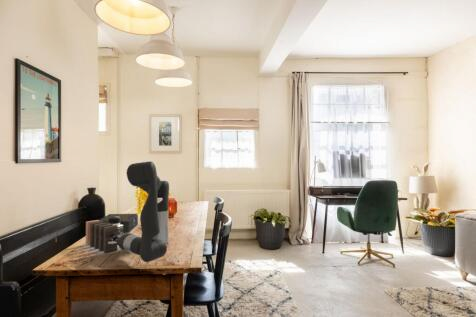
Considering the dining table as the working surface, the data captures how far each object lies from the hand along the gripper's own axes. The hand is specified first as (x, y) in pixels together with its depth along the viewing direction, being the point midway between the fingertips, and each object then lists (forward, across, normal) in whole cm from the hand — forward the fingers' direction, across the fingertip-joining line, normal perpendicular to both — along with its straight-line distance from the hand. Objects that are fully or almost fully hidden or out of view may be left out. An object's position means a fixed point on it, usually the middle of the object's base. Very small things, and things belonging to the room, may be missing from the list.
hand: (111, 236), depth 143 cm
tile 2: (+6, 0, +7) cm, 10 cm away
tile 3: (+11, 0, +7) cm, 13 cm away
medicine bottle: (+26, -15, +8) cm, 31 cm away
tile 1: (+1, 0, +7) cm, 8 cm away
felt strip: (+11, 0, +8) cm, 14 cm away
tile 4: (+16, 0, +7) cm, 17 cm away
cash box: (+46, -28, +9) cm, 55 cm away
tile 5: (+20, 0, +7) cm, 22 cm away
